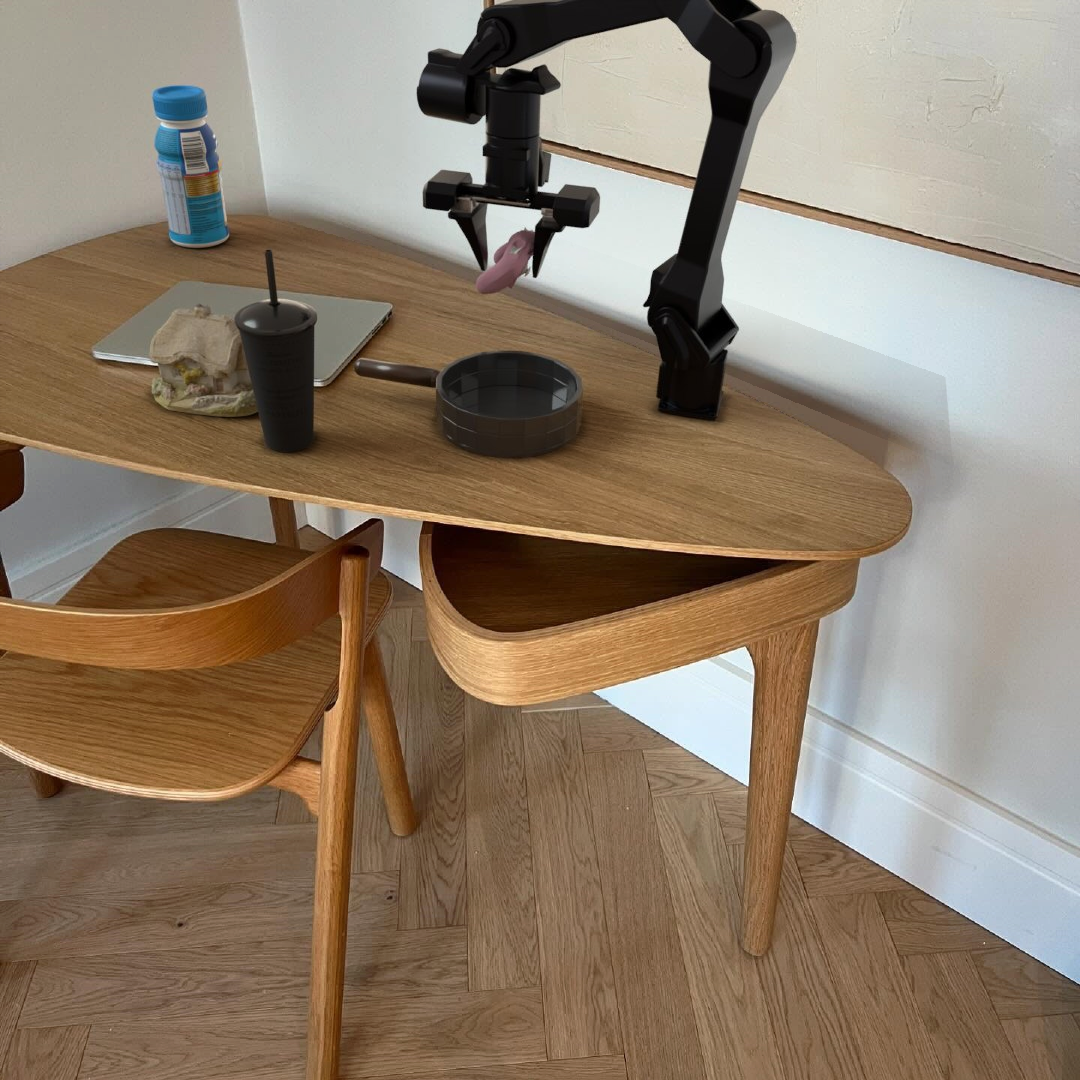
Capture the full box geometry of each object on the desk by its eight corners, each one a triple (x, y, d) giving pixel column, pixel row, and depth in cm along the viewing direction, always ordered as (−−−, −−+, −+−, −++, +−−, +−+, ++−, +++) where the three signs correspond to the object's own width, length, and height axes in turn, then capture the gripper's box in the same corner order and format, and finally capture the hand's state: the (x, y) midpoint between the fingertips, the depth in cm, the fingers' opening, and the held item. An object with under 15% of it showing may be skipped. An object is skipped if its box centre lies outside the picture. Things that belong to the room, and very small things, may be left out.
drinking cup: (292, 468, 107) (270, 273, 95) (235, 444, 110) (206, 253, 98) (343, 436, 112) (328, 247, 101) (287, 414, 115) (266, 229, 104)
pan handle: (446, 384, 117) (445, 367, 116) (440, 392, 115) (439, 375, 114) (358, 370, 119) (357, 353, 117) (351, 378, 117) (350, 361, 116)
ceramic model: (129, 401, 116) (111, 314, 111) (191, 358, 125) (177, 275, 119) (243, 428, 113) (231, 339, 107) (299, 381, 121) (290, 297, 116)
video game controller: (506, 312, 121) (535, 261, 117) (470, 290, 121) (499, 238, 117) (525, 279, 129) (553, 230, 125) (492, 258, 129) (519, 208, 125)
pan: (593, 399, 121) (596, 362, 118) (560, 468, 109) (563, 429, 106) (462, 378, 124) (462, 341, 121) (416, 443, 112) (415, 405, 109)
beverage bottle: (158, 246, 152) (133, 96, 140) (184, 225, 159) (162, 80, 147) (216, 252, 151) (195, 101, 139) (240, 231, 158) (221, 85, 146)
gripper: (615, 121, 119) (605, 258, 129) (453, 104, 123) (454, 239, 132) (592, 149, 111) (583, 294, 120) (418, 130, 114) (423, 272, 123)
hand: (510, 273), depth 124 cm, fingers closed on video game controller, 6 cm apart
